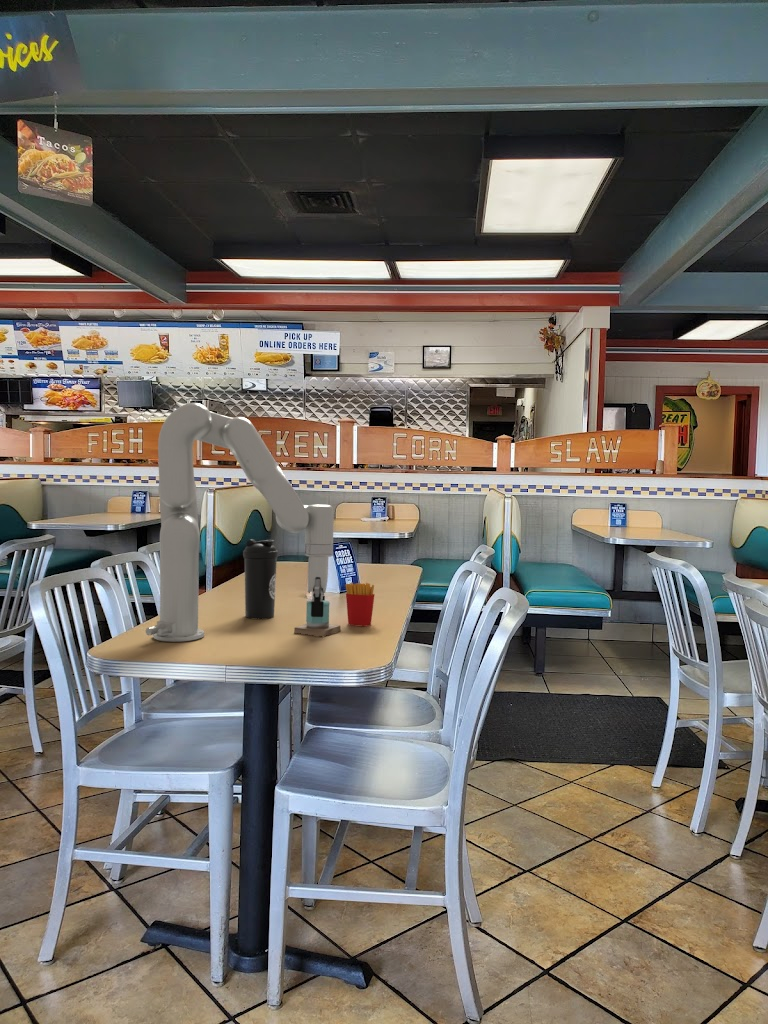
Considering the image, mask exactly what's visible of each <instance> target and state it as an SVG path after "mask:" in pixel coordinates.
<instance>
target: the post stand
mask: <svg viewBox="0 0 768 1024" xmlns="http://www.w3.org/2000/svg"><path fill="white" fill-rule="evenodd" d="M293 629H294V634H297V633H301V634H300V635H305V634H308V635H307V636H312V635H314V637H319V636H322V637H321V638H324V637H326V635H327V636H330V635H333V634H335V632H336V633H339V632H341V625H338V624H330V621H329V622H326V623H310V622H306V623H305V624H302V625H298V626H295V627H294V628H293ZM338 631H339V632H338ZM332 633H333V634H332ZM329 634H330V635H329ZM323 636H324V637H323Z"/></svg>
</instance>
